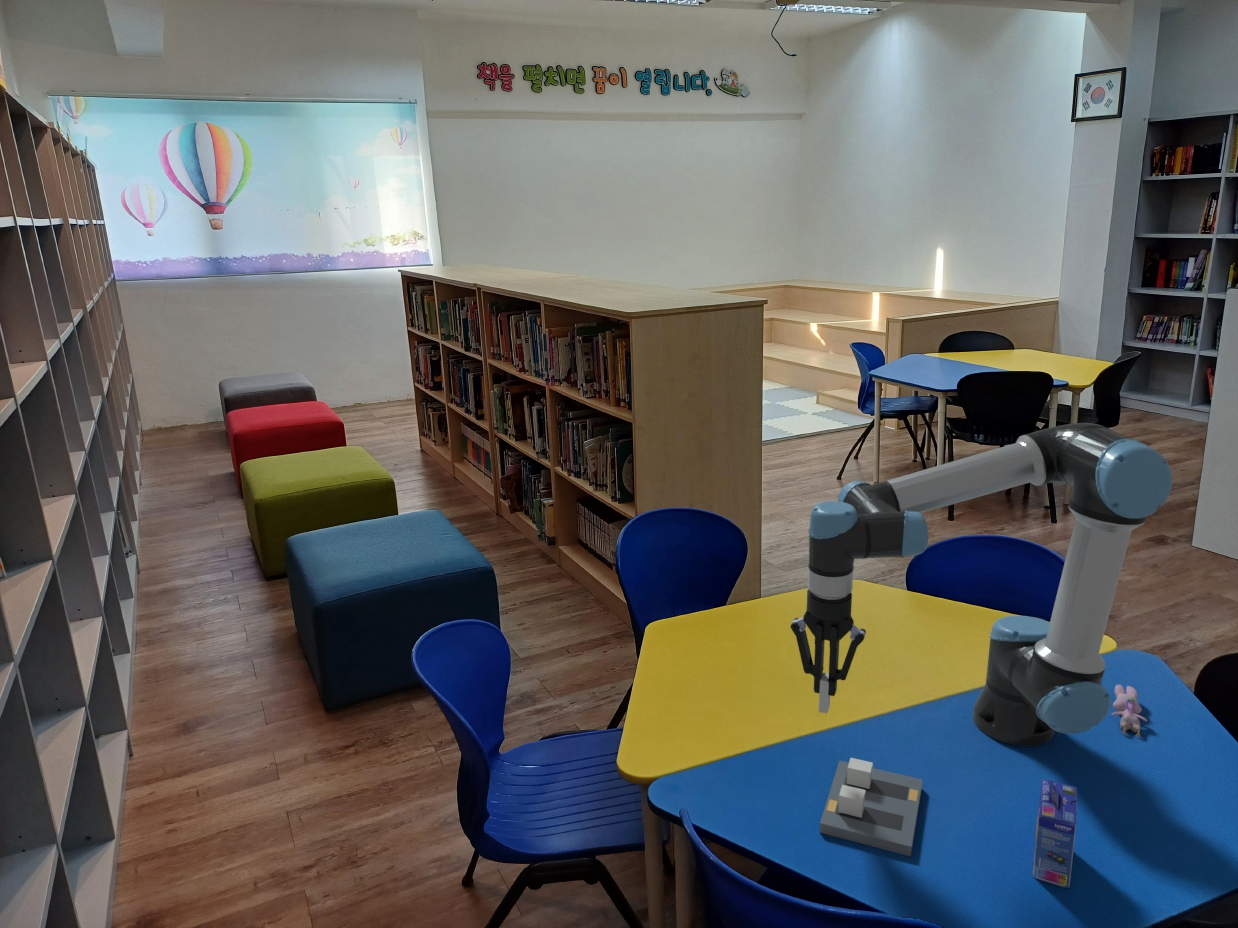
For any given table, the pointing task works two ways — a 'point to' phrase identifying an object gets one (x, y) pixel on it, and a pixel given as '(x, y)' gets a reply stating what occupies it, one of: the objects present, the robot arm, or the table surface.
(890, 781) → the switch bank
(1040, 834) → the ink cartridge box
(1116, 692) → the rabbit figure
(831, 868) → the table surface
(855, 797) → the near tab
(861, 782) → the far tab
